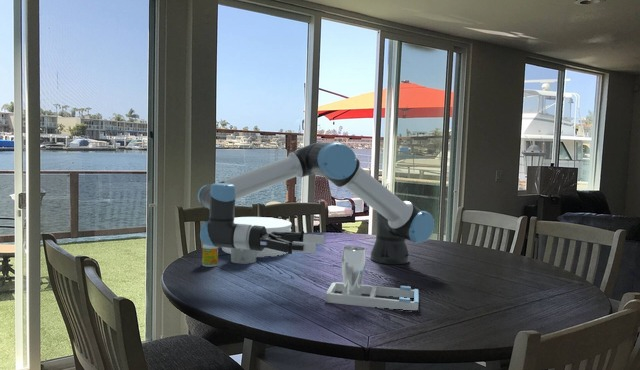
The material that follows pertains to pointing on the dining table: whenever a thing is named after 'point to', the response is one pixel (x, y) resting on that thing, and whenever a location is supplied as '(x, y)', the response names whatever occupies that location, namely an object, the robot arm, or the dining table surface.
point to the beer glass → (353, 269)
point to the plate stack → (270, 226)
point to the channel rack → (371, 297)
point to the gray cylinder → (243, 256)
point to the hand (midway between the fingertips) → (320, 244)
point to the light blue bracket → (416, 298)
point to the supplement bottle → (209, 256)
